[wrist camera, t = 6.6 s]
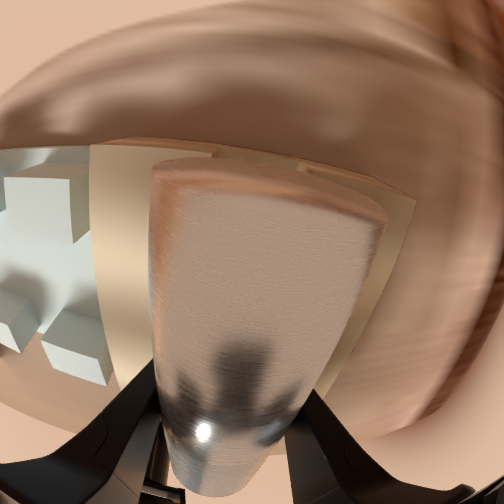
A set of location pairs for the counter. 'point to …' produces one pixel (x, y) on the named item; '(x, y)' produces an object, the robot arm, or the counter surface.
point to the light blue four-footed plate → (50, 259)
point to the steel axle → (247, 304)
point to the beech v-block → (137, 228)
